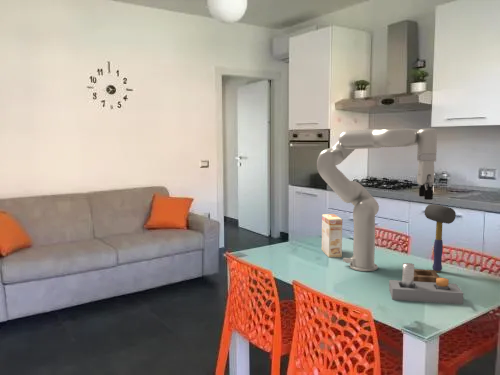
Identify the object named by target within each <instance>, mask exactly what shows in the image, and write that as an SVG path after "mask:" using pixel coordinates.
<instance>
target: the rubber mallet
mask: <svg viewBox="0 0 500 375" xmlns="http://www.w3.org/2000/svg"><path fill="white" fill-rule="evenodd" d="M424 216H425V217H426V219H428V220H431V221H432V222H433V221H434V222H436V224H435V228H436V229H435V239H434V242H433V243H434V244H433V263H432V264H433V265H432V270H435V271H436V273H440V272H441V271H442V270H443V265H442V260H443V259H442V256H443V250H444V247H443V246H444V245H443V224H446V225H447V224H448V225H449V224H452V223H453V222H455V219H456V216H457V213H456V211H455V209H453V208H452V207H449V206H444V205H440V204H433V203H432V204H428V205H427V206H426V207H425V209H424Z"/></svg>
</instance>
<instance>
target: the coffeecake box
mask: <svg viewBox="0 0 500 375" xmlns="http://www.w3.org/2000/svg"><path fill="white" fill-rule="evenodd" d="M342 248H343V219H342V218H341V217H339V216H338V215H336V214H334V213H331V214H330V213H326V214H324V213H323V214H321V251H322V252H323V253H324V254H325V255H326V256H327V257H328V258H342V257H343V256H342V255H343V253H342V252H343V251H342V250H343V249H342Z"/></svg>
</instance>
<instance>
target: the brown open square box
mask: <svg viewBox="0 0 500 375" xmlns="http://www.w3.org/2000/svg"><path fill="white" fill-rule="evenodd" d="M436 278H441V277H440V276H439V274H438V272H436V271H435V270H433V269H423V268H422V269H421V268H414V281H416V282H434V283H436Z"/></svg>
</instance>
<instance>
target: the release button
mask: <svg viewBox="0 0 500 375" xmlns="http://www.w3.org/2000/svg"><path fill="white" fill-rule="evenodd" d="M448 284H449V279H448V278H447V277H440V278H436V289H441V290H448V289H449V287H448Z"/></svg>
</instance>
